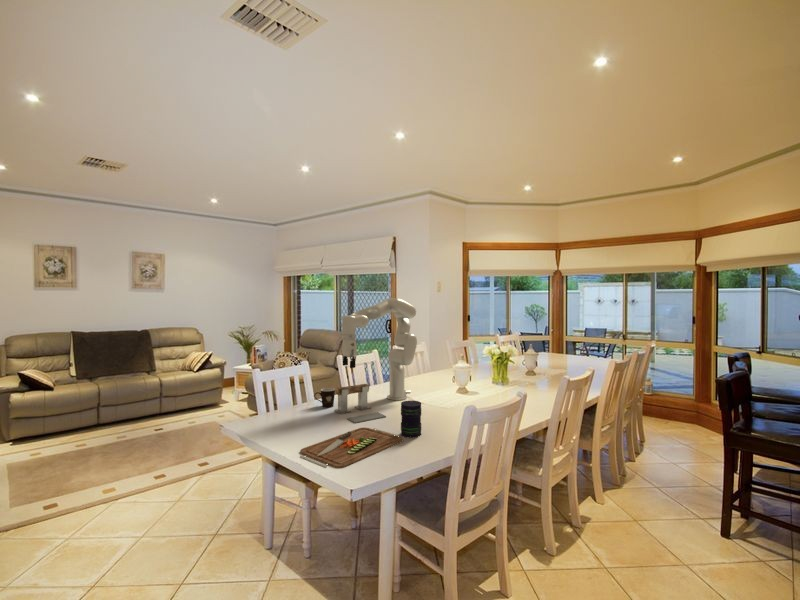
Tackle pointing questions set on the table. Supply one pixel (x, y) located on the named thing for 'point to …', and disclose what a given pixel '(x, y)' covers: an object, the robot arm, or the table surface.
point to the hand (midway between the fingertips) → (348, 366)
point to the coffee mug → (327, 397)
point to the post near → (343, 402)
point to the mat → (366, 417)
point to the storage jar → (411, 419)
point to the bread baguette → (351, 389)
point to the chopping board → (350, 447)
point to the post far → (363, 399)
